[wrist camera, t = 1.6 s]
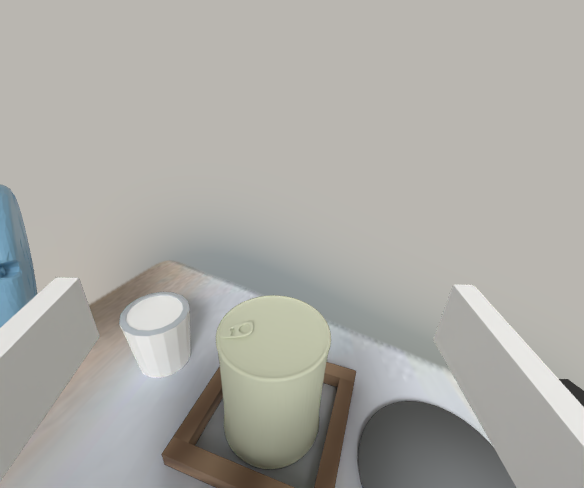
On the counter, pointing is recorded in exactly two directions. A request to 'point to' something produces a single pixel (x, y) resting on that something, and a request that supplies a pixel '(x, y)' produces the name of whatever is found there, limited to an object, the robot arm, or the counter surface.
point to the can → (272, 378)
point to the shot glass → (158, 332)
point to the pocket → (241, 480)
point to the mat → (426, 451)
